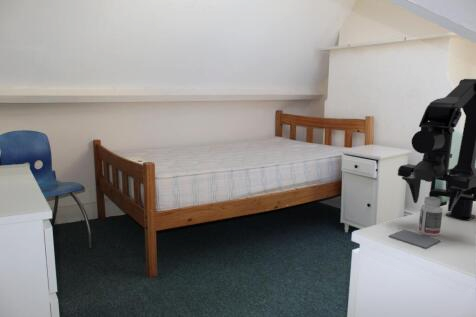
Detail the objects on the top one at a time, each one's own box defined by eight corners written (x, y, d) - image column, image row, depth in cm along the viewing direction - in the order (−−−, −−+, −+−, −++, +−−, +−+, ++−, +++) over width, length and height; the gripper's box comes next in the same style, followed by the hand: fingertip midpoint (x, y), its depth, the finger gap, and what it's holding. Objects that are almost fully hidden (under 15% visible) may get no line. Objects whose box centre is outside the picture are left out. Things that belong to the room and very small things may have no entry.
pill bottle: (443, 234, 112) (448, 199, 110) (432, 238, 109) (436, 202, 107) (425, 228, 117) (429, 194, 115) (414, 231, 114) (417, 197, 112)
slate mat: (404, 230, 114) (404, 229, 114) (440, 241, 107) (440, 240, 106) (388, 236, 109) (388, 235, 109) (425, 249, 101) (426, 247, 101)
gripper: (389, 147, 111) (384, 203, 113) (463, 158, 97) (454, 222, 100) (410, 144, 118) (405, 197, 121) (481, 154, 104) (473, 213, 107)
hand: (432, 206), depth 112 cm, fingers open, 9 cm apart
